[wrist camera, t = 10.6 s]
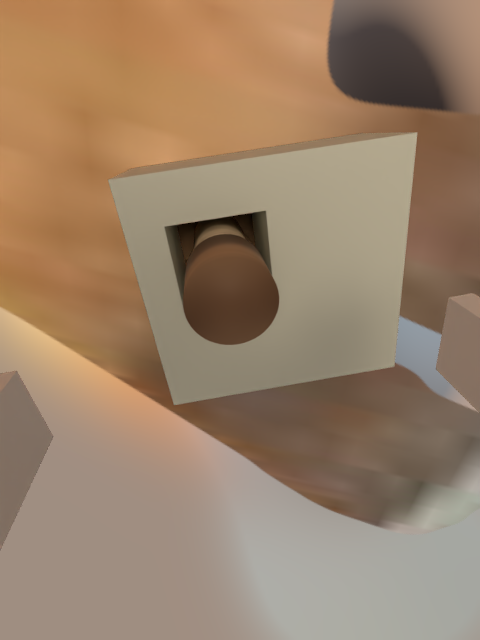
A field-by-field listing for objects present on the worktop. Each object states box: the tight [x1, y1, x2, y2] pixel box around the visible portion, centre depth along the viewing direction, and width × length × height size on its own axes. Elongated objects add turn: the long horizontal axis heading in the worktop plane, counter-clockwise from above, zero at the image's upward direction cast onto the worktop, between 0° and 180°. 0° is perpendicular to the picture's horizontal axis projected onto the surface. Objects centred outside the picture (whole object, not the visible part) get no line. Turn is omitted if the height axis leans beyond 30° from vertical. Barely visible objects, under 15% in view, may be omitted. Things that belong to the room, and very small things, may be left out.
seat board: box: [108, 132, 417, 405], centre depth 24 cm, size 15×16×7 cm
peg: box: [183, 216, 279, 345], centre depth 21 cm, size 4×4×12 cm
